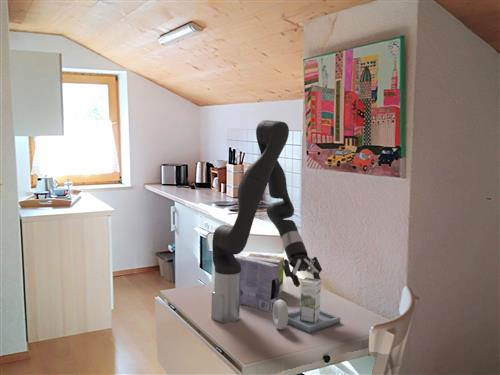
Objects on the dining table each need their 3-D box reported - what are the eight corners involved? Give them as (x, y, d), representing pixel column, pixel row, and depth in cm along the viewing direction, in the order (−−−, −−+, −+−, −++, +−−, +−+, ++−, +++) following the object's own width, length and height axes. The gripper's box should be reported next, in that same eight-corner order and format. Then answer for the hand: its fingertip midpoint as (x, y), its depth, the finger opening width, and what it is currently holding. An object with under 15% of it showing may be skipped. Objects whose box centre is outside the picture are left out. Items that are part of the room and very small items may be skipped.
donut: (288, 334, 171) (290, 304, 170) (278, 334, 170) (280, 305, 169) (280, 322, 181) (281, 295, 179) (270, 323, 180) (272, 295, 179)
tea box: (242, 293, 212) (243, 258, 210) (249, 286, 221) (250, 252, 220) (277, 297, 208) (279, 261, 206) (283, 290, 217) (284, 256, 215)
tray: (309, 333, 172) (309, 327, 172) (280, 320, 182) (280, 315, 182) (340, 322, 182) (340, 317, 182) (310, 311, 193) (311, 306, 193)
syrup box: (319, 318, 184) (321, 278, 182) (314, 323, 178) (316, 283, 177) (304, 315, 186) (306, 276, 184) (299, 320, 181) (300, 280, 179)
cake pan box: (279, 309, 194) (281, 264, 192) (272, 313, 189) (274, 266, 187) (239, 298, 205) (240, 255, 203) (231, 301, 201) (232, 257, 199)
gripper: (281, 241, 186) (295, 281, 177) (314, 239, 192) (330, 277, 183) (273, 252, 191) (287, 291, 182) (306, 250, 197) (321, 288, 188)
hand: (308, 284), depth 182 cm, fingers open, 8 cm apart
